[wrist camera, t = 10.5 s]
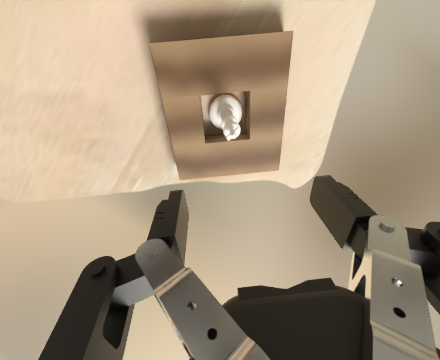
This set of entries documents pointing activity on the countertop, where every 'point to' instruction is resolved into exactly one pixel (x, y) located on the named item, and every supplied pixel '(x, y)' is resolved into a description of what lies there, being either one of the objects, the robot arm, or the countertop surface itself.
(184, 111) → the socket board
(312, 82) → the countertop surface
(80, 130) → the countertop surface
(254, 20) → the countertop surface
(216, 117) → the chess piece
